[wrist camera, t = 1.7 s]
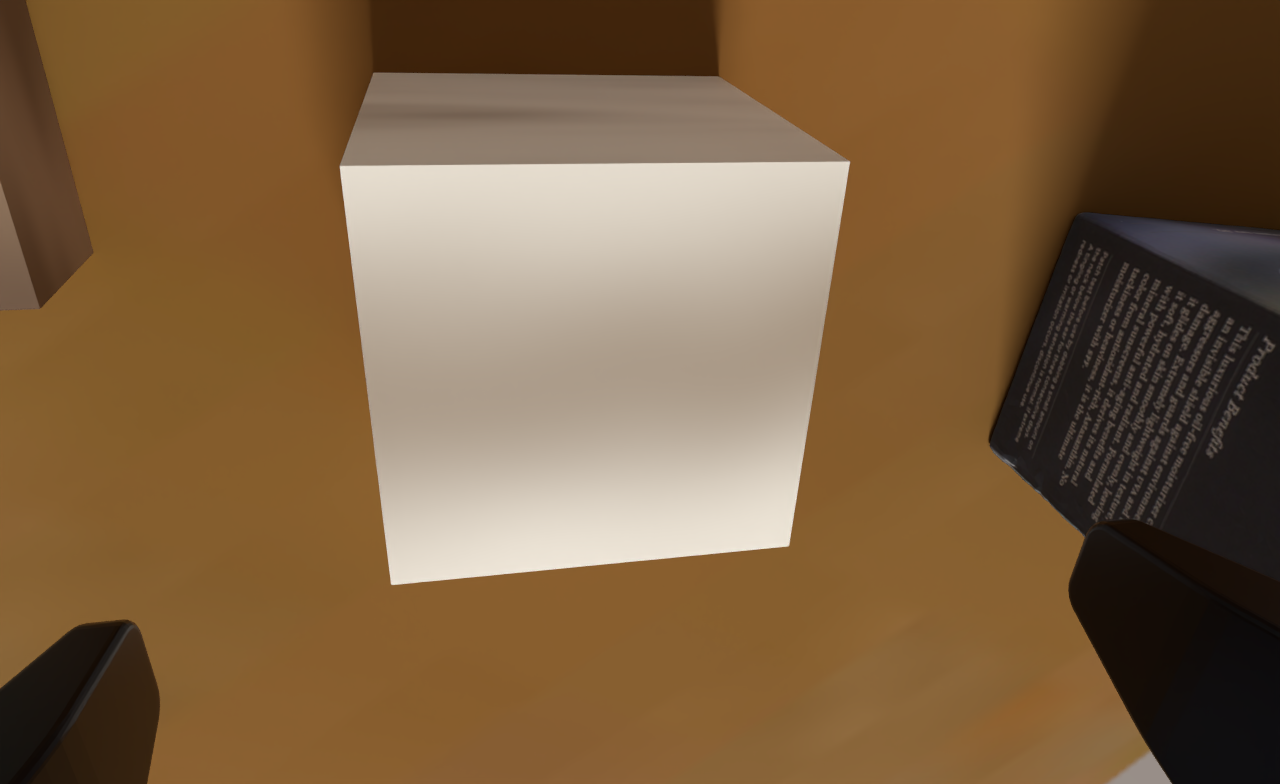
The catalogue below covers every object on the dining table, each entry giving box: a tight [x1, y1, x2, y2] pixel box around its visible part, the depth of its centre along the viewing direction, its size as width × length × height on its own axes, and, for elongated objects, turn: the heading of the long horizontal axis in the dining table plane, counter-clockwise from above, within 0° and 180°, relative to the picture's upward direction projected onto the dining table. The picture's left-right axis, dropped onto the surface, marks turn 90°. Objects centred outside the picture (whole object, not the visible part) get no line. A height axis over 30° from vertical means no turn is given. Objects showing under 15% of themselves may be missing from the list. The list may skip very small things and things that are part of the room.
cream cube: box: [340, 73, 850, 585], centre depth 14 cm, size 6×6×6 cm
